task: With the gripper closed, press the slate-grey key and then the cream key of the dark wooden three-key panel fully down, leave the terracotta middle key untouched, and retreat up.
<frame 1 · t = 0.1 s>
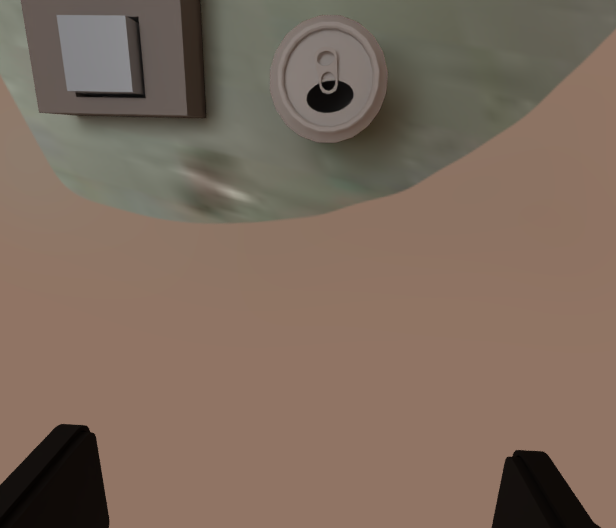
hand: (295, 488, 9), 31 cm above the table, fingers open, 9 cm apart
can: (329, 96, 36), on the table
slate key: (109, 59, 32), point 5 cm above the table, slide at 0.0 cm
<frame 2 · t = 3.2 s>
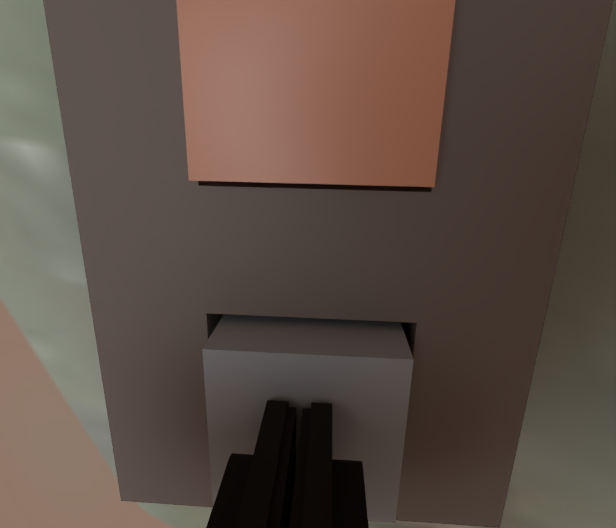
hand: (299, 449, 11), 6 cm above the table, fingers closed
key panel: (322, 85, 14), on the table
terracotta key: (316, 63, 9), point 5 cm above the table, slide at 0.0 cm
slate key: (309, 393, 12), point 4 cm above the table, slide at 0.1 cm, touching gripper
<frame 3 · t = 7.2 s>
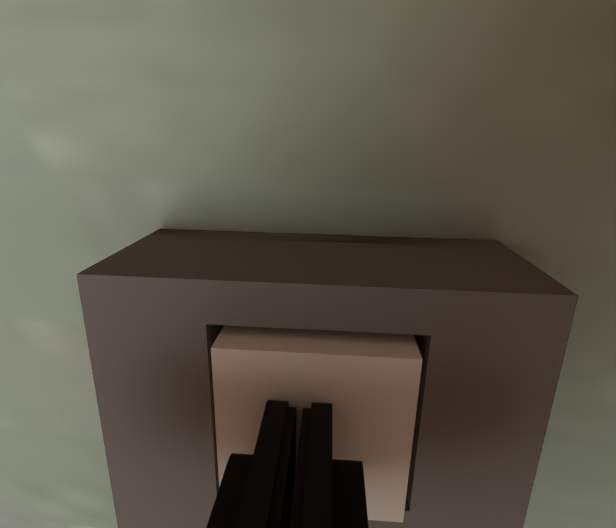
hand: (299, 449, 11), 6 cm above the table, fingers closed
key panel: (315, 514, 19), on the table
cream key: (316, 392, 12), point 4 cm above the table, slide at 0.9 cm, touching gripper
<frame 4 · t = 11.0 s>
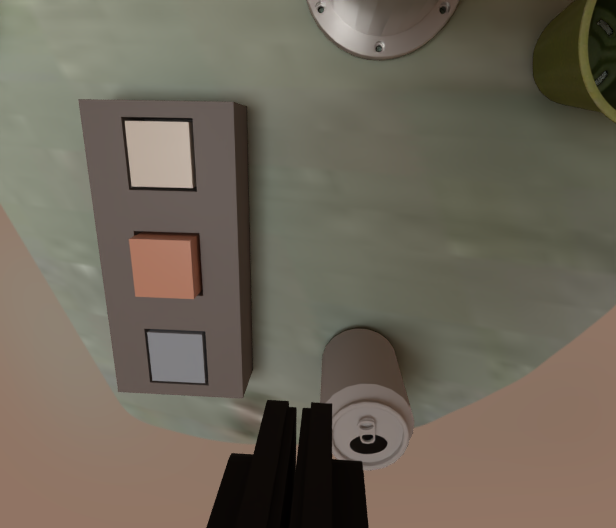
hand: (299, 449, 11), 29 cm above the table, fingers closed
key panel: (188, 248, 40), on the table
can: (358, 356, 42), on the table
plant pot: (575, 59, 33), on the table
terracotta key: (171, 262, 35), point 4 cm above the table, slide at 0.0 cm
slate key: (184, 347, 40), point 3 cm above the table, slide at 1.4 cm
cream key: (168, 154, 34), point 3 cm above the table, slide at 1.4 cm
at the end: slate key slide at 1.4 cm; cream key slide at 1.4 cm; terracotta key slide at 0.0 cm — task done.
